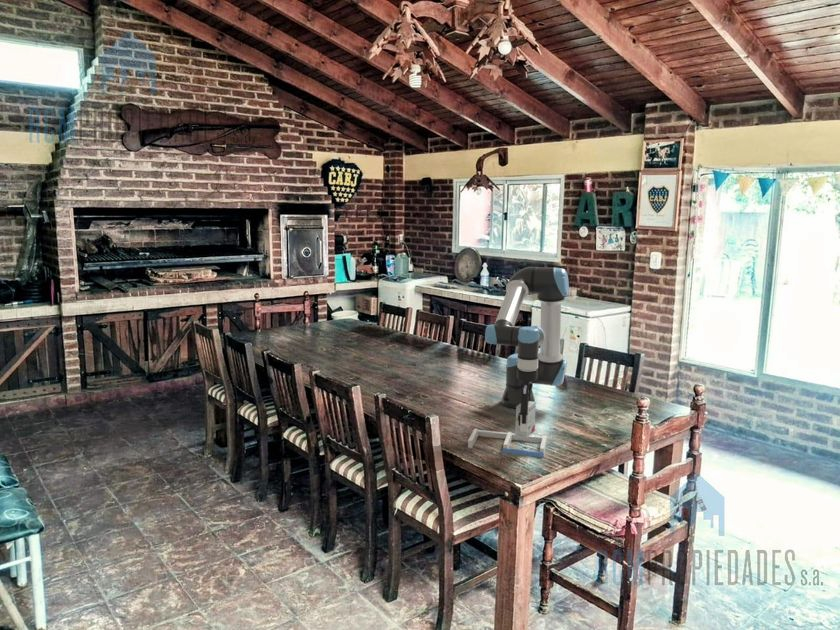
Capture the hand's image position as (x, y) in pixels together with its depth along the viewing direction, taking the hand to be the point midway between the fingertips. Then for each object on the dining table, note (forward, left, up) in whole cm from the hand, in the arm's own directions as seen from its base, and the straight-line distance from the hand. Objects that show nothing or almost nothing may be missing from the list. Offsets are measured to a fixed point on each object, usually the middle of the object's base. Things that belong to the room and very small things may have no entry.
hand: (525, 426), depth 241 cm
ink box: (0, 0, -3) cm, 3 cm away
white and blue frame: (-3, -7, -9) cm, 12 cm away
